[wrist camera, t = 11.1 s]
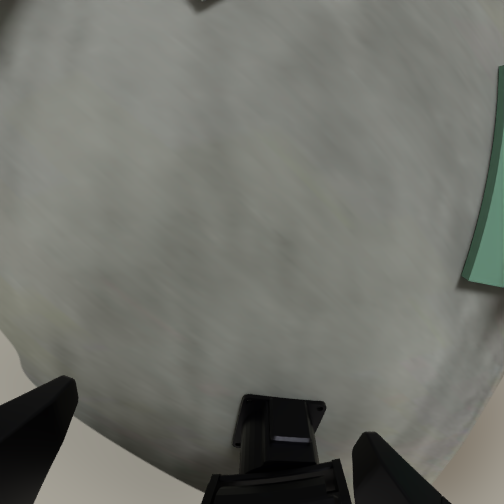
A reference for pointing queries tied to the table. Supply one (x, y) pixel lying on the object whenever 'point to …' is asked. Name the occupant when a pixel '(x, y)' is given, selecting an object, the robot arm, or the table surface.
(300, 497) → the robot arm
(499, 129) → the board
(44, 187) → the table surface
